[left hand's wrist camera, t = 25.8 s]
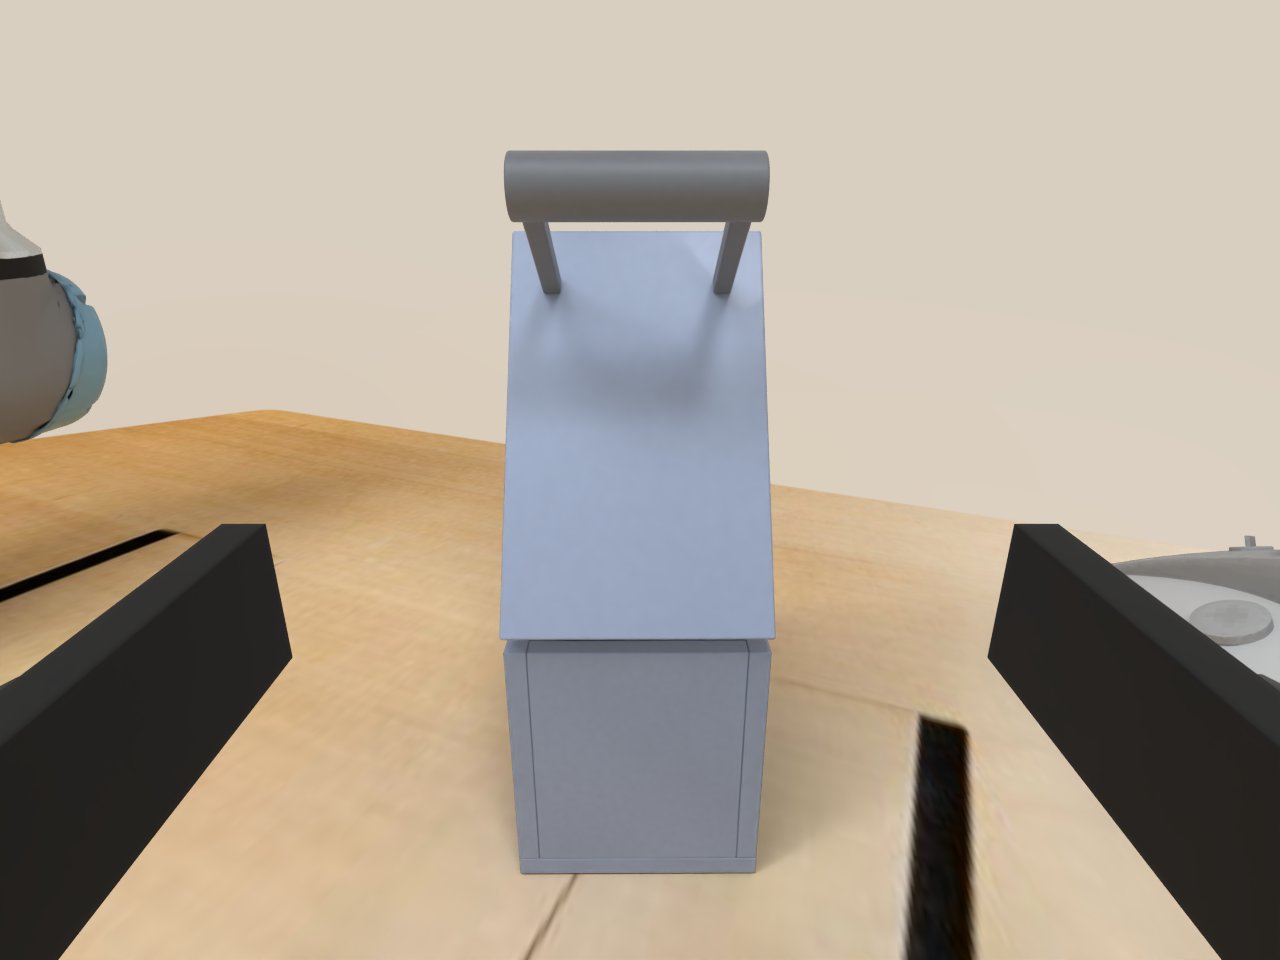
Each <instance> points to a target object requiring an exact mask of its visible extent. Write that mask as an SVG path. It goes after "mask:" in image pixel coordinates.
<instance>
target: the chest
mask: <svg viewBox="0 0 1280 960" xmlns="http://www.w3.org/2000/svg"><path fill="white" fill-rule="evenodd" d="M771 654H772V653H771V650H770V647H769V643H768V640H767V639H676V640H507V644H506V647H505V650H504V654H503V655H504V667H505V680H506V693H507V705H508V718H509V731H510V743H511V756H512V768H513V781H514V794H515V806H516V819H517V832H518V844H519V857H520V870H521V873H522V874H524V873H754V872H755V867H756V852H757V839H758V826H759V812H760V799H761V786H762V773H763V760H764V746H765V733H766V720H767V707H768V694H769V680H770V667H771Z"/></svg>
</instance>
